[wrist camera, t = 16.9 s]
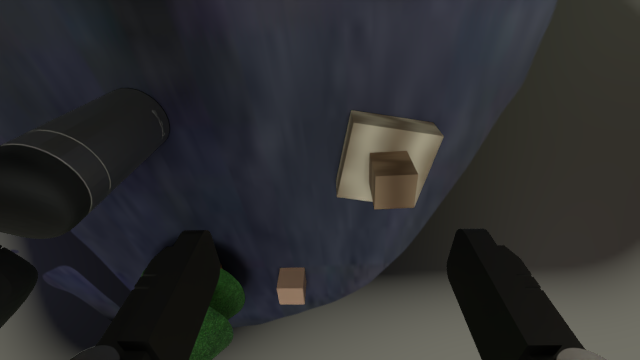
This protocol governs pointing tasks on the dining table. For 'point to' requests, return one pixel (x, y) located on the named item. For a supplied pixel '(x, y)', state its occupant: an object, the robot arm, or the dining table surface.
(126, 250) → the dining table surface
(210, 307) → the decorative tree
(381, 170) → the walnut block
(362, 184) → the birch block
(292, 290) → the tan cube
